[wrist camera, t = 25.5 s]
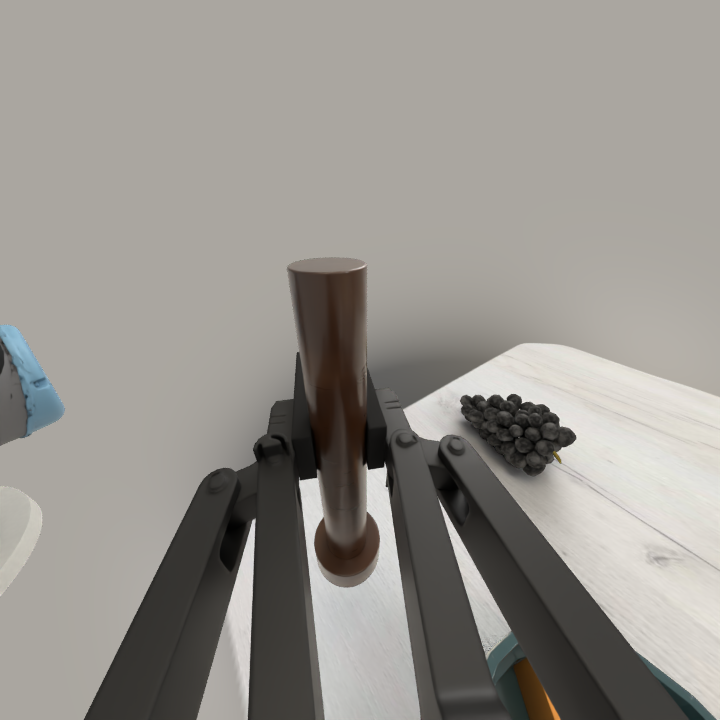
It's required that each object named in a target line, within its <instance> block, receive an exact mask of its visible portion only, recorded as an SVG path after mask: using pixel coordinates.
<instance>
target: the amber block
mask: <svg viewBox="0 0 720 720" xmlns="http://www.w3.org/2000/svg"><path fill="white" fill-rule="evenodd" d="M513 668H514V671H515V674H516V677H517V680H518V684H519V687H520V690H521V693H522V696H523V700H524V703H525V706H526V709H527V712H528V716H529V719H530V720H561V719H560V717H559V715H558V714H557V712H556V710H555V708H554V706H553V704H552V703H551V701H550V699H549V697H548V695H547V694H546V692H545V690H544V688H543V686H542V685H541V683H540V681H539V679H538V677H537V676H536V674H535V672H534V670H533V668H532V667H531V665H530V663H529V661H528V659H527V658H525V659H523V660H522V661H520V662H519V663H517V664H515V665H514V666H513Z"/></svg>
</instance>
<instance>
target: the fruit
mask: <svg viewBox="0 0 720 720" xmlns="http://www.w3.org/2000/svg"><path fill="white" fill-rule="evenodd" d="M460 402H461V404H462V405H463V407H462V408H461V412H462V414H463V415H465V418H466V420H467V421H470V422H472V423H473V426H474V427H475V428H477V429H480V436H481V437H482V438H484V439H488V440H487V441H488V443H489V444H490V445H492V446H495V448H496V451H497V452H498V453H499V454H501V455H503V454H504V457H505V459H506V461H508V462H509V463H512V464H513V466H515V467H516V468H523V470H524V471H525V472H526V473H527V474H528V475H531V476H536V475H538V474H540V473H541V472H542V471H543V470H544V469H545V467H546V465H545V464H549V463H551V462H552V461H553V460H554V457H553V455H554V456H555V458H556V459H557V460H558V461H559V463H561V459H560V458H559V456H558V454H557V453H556V452H558V451H559V450H561V448H562V447H567V446H568V445H571V444H572V443H573V442H574V441H575V440H576V435H575V434H574V433H573V431H572V430H570V429H569V428H566V427H560V425H559V418H558V416H557V415H556V414H554V413H552V412H550V410H549V408H548V407H546V406H545V405H543V404H539V405H535V404H533V403H531V402H525V403H523V404H521V403H522V399H521V397H520V396H518V395H516V394H511V395H509V396H508V397H507V401H506V400H504V399H503V398H502V397H501V396H500V395H493V396H491V397H490V398H488V399H487V401H486V400H485V399H484V397H482V396H481V395H475V396H474V397H473V398H471V397H470V396H468V395H464V396H462V398H461V400H460ZM519 409H520V410H519ZM518 437H520V438H518Z"/></svg>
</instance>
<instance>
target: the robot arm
mask: <svg viewBox="0 0 720 720" xmlns="http://www.w3.org/2000/svg"><path fill="white" fill-rule="evenodd" d="M64 411H65V408H64V405H63V403H62V402H61V400H60V398H59V396H58V395H57V393H56V391H55V390H54V388H53V386H52V384H51V383H50V381H49V379H48V378H47V376H46V374H45V373H44V371H43V369H42V368H41V366H40V364H39V363H38V361H37V359H36V358H35V356H34V354H33V353H32V351H31V349H30V348H29V346H28V344H27V343H26V341H25V339H24V338H23V336H22V334H21V333H20V331H19V330H18V329H17V328H16V327H14V326H11V325H0V445H3V444H5V443H8V442H10V441H13V440H15V439H17V438H25V437H27V436H29V435H31V434H32V432H34V431H37V430H39V429H41V428H43V427H45V426H48V425H50V424H52V423H54V422H56V421H57V420H59V419H60V418H61V417H62V415H63V414H64ZM253 451H254V454H255V457H256V460H257V461H256V462H255V463H254V464H252V465H250V466H249V467H246V468H244V469H241V470H239V471H237V472H235V471H234V470H232V469H230V468H222V469H217V470H216V471H214V472H211V473H210V474H209V475H208V476H206V477H205V478H204V480H203V481H202V482H201V484H200V485H199V487H198V489H197V491H196V494H195V495H194V498H193V500H192V502H191V504H190V506H189V508H188V510H187V512H186V514H185V516H184V518H183V520H182V522H181V524H180V526H179V528H178V530H177V532H176V534H175V536H174V538H173V540H172V542H171V544H170V546H169V548H168V550H167V552H166V554H165V556H164V559H163V560H162V562H161V564H160V566H159V568H158V570H157V572H156V575H155V577H154V578H153V581H152V583H151V585H150V587H149V589H148V591H147V593H146V595H145V597H144V599H143V601H142V603H141V605H140V607H139V609H138V611H137V613H136V615H135V617H134V619H133V621H132V623H131V625H130V627H129V629H128V631H127V633H126V635H125V637H124V639H123V641H122V643H121V645H120V647H119V649H118V652H117V654H116V655H115V658H114V660H113V662H112V664H111V666H110V668H109V670H108V672H107V674H106V676H105V678H104V680H103V682H102V684H101V686H100V688H99V690H98V692H97V694H96V696H95V698H94V700H93V702H92V704H91V706H90V708H89V710H88V712H87V714H86V716H85V718H84V720H196V719H197V715H198V712H199V708H200V705H201V701H202V698H203V694H204V691H205V687H206V683H207V680H208V676H209V673H210V669H211V666H212V662H213V659H214V655H215V651H216V648H217V644H218V641H219V637H220V634H221V630H222V627H223V623H224V620H225V616H226V612H227V609H228V605H229V602H230V598H231V595H232V591H233V588H234V584H235V580H236V577H237V573H238V570H239V566H240V563H241V559H242V556H243V552H244V548H245V545H246V541H247V538H248V534H249V531H250V527H251V524H252V520H253V519H255V518H256V523H255V549H254V575H253V601H252V627H251V653H250V679H249V705H248V720H325V718H324V709H323V699H322V690H321V681H320V671H319V662H318V652H317V643H316V634H315V624H314V615H313V605H312V596H311V587H310V577H309V568H308V558H307V549H306V540H305V530H304V521H303V511H302V502H301V493H300V488H299V477H300V480H306V479H312V478H317V465H316V458H315V452H314V445H313V438H312V432H311V425H310V420H309V413H308V406H307V400H306V393H305V386H304V380H303V373H302V366H301V359H300V353H299V352H297V358H296V373H295V388H294V399H291V400H283V401H276V403H275V404H274V405H273V407H272V408H271V413H270V419H269V425H268V431H267V434H266V435H264V436H262V437H261V438H260V439H258V441H257V442H256V443H255V445H254V448H253ZM384 463H385V464H386V467H387V478H386V487H388V490H389V497H390V504H391V511H392V518H393V525H394V532H395V538H396V545H397V552H398V559H399V566H400V573H401V580H402V587H403V594H404V601H405V608H406V615H407V622H408V628H409V635H410V642H411V649H412V656H413V663H414V670H415V677H416V684H417V691H418V698H419V705H420V715H421V720H512V719H511V716H510V714H509V712H508V711H507V709H506V708H505V706H504V705H503V703H502V701H501V700H500V698H499V696H498V693H497V691H496V688H495V686H494V683H493V680H492V676H491V673H490V670H489V666H488V663H487V660H486V656H485V653H484V650H483V646H482V643H481V640H480V636H479V633H478V630H477V626H476V623H475V620H474V616H473V613H472V610H471V606H470V603H469V600H468V596H467V593H466V590H465V586H464V583H463V580H462V576H461V573H460V570H459V567H458V563H457V560H456V557H455V553H454V550H453V547H452V543H451V540H450V537H449V533H448V530H447V527H446V523H445V520H444V517H443V513H442V510H441V507H440V503H439V500H440V502H441V504H442V505H443V507H444V509H445V511H446V513H447V515H448V516H449V518H450V520H451V522H452V524H453V525H454V527H455V529H456V531H457V533H458V534H459V536H460V538H461V540H462V542H463V543H464V545H465V547H466V549H467V551H468V553H469V554H470V556H471V558H472V560H473V562H474V563H475V565H476V567H477V569H478V571H479V572H480V574H481V576H482V578H483V580H484V581H485V583H486V585H487V587H488V589H489V591H490V592H491V594H492V596H493V598H494V600H495V601H496V603H497V605H498V607H499V609H500V610H501V612H502V614H503V616H504V618H505V619H506V621H507V623H508V625H509V627H510V629H511V630H512V632H513V634H514V636H515V638H516V639H517V641H518V643H519V645H520V647H521V648H522V650H523V652H524V654H525V656H526V657H527V659H528V661H529V663H530V665H531V667H532V668H533V670H534V672H535V674H536V676H537V677H538V679H539V681H540V683H541V685H542V686H543V688H544V690H545V692H546V694H547V695H548V697H549V699H550V701H551V703H552V704H553V706H554V708H555V710H556V712H557V714H558V715H559V717H560V719H561V720H689V718H688V717H687V716H686V715H685V713H684V712H683V711H682V710H681V708H680V707H679V706H678V705H677V703H676V702H675V701H674V700H673V698H672V697H671V696H670V695H669V693H668V692H667V691H666V690H665V688H664V687H663V686H662V685H661V683H660V682H659V681H658V679H657V678H656V677H655V676H654V674H653V673H652V672H651V671H650V669H649V668H648V667H647V666H646V664H645V663H644V662H643V661H642V659H641V658H640V657H639V656H638V654H637V653H636V652H635V651H634V649H633V648H632V647H631V646H630V644H629V643H628V642H627V641H626V639H625V638H624V637H623V635H622V634H621V633H620V632H619V630H618V629H617V628H616V627H615V625H614V624H613V623H612V622H611V620H610V619H609V618H608V617H607V615H606V614H605V613H604V612H603V610H602V609H601V608H600V607H599V605H598V604H597V603H596V602H595V600H594V599H593V598H592V597H591V595H590V594H589V593H588V591H587V590H586V589H585V588H584V586H583V585H582V584H581V583H580V581H579V580H578V579H577V578H576V576H575V575H574V574H573V573H572V571H571V570H570V569H569V568H568V566H567V565H566V564H565V563H564V561H563V560H562V559H561V558H560V556H559V555H558V554H557V553H556V551H555V550H554V549H553V547H552V546H551V545H550V544H549V542H548V541H547V540H546V539H545V537H544V536H543V535H542V534H541V532H540V531H539V530H538V529H537V527H536V526H535V525H534V524H533V522H532V521H531V520H530V519H529V517H528V516H527V515H526V514H525V512H524V511H523V510H522V509H521V507H520V506H519V505H518V503H517V502H516V501H515V500H514V498H513V497H512V496H511V495H510V493H509V492H508V491H507V490H506V488H505V487H504V486H503V485H502V483H501V482H500V481H499V480H498V478H497V477H496V476H495V475H494V473H493V472H492V471H491V470H490V468H489V467H488V466H487V465H486V463H485V462H484V461H483V460H482V458H481V457H480V456H479V454H478V453H477V452H476V451H475V449H474V448H473V447H472V446H471V444H470V443H469V442H468V441H467V440H465V439H464V438H462V437H460V436H456V435H447V436H445V437H443V438H442V439H441V441H440V442H439V441H432V440H427V439H423V438H421V437H419V436H418V435H417V434H416V433H415V432H414V431H412V430H411V428H410V426H409V423H408V421H407V419H406V416H405V414H404V412H403V409H402V408H401V405H400V402H399V400H398V398H397V395H396V393H395V392H393V391H392V390H391V389H390V388H383V389H374V386H373V383H372V380H371V377H370V374H369V371H368V368H367V466H368V470H370V469H376V468H383V467H384ZM437 496H438V497H437ZM438 498H439V500H438Z"/></svg>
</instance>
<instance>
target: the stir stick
mask: <svg viewBox="0 0 720 720" xmlns="http://www.w3.org/2000/svg"><path fill="white" fill-rule="evenodd" d="M287 272H288V278H289V285H290V292H291V299H292V306H293V312H294V319H295V326H296V332H297V339H298V346H299V353H300V359H301V366H302V373H303V380H304V386H305V393H306V400H307V406H308V413H309V420H310V425H311V432H312V438H313V445H314V452H315V458H316V465H317V474H318V480H319V487H320V494H321V501H322V507H323V514H324V517H323V519H322V520H321V522H320V523H319V525H318V527H317V530H316V533H315V539H314V546H315V552H316V557H317V562H318V566H319V569H320V571H321V572H322V574H323V575H324V577H325V578H326V579H327V580H328V581H329V582H331V583H332V584H334V585H336V586H339V587H353V586H357V585H359V584H361V583H362V582H364V581H365V580H366V579H367V578H368V577H369V576H370V575H371V574H372V572H373V571H374V569H375V567H376V565H377V561H378V557H379V543H380V537H379V530H378V527H377V524H376V522H375V520H374V519H373V517H372V516H371V515H370V514H369V513H368V512H367V264H366V263H365V262H363V261H361V260H357V259H351V258H314V259H307V260H301V261H297V262H294V263H291V264H289V265H288V267H287Z"/></svg>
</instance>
